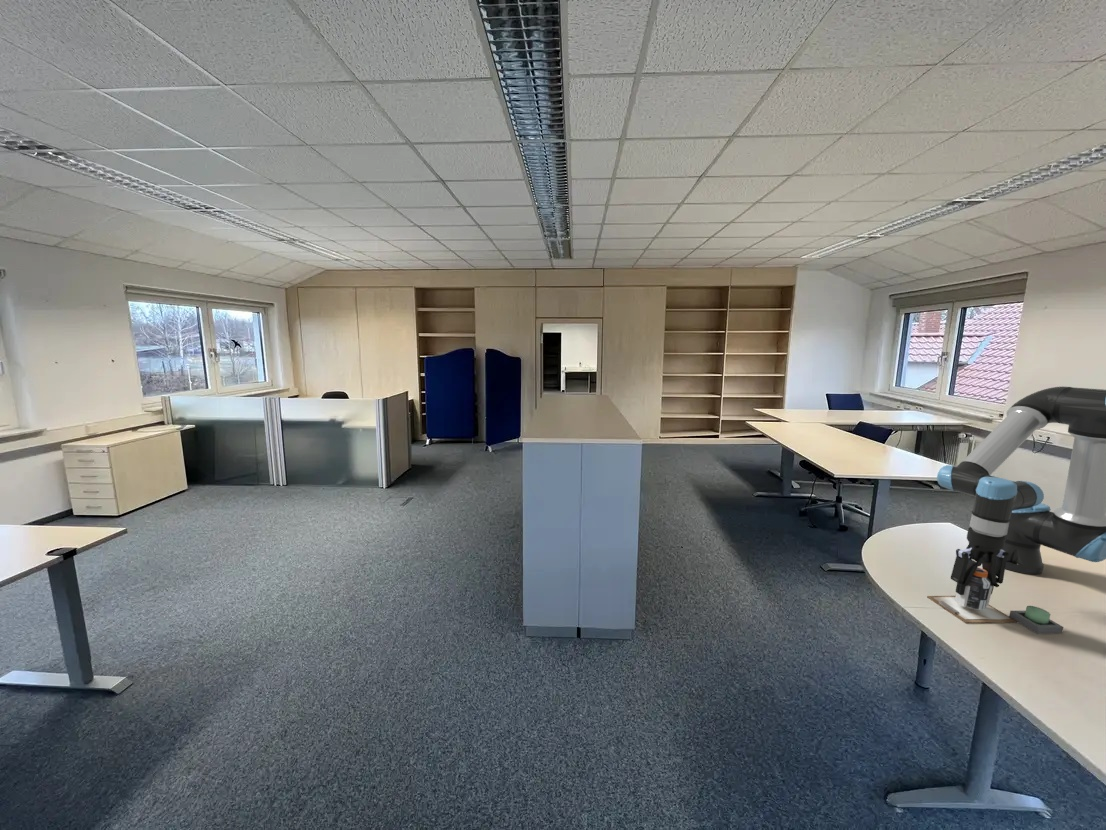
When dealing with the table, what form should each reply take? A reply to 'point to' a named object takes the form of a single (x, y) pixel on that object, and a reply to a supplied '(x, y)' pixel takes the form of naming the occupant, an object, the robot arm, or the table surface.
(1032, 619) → the button
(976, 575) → the pill bottle
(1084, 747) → the table surface
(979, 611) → the clipboard
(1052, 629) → the button frame
